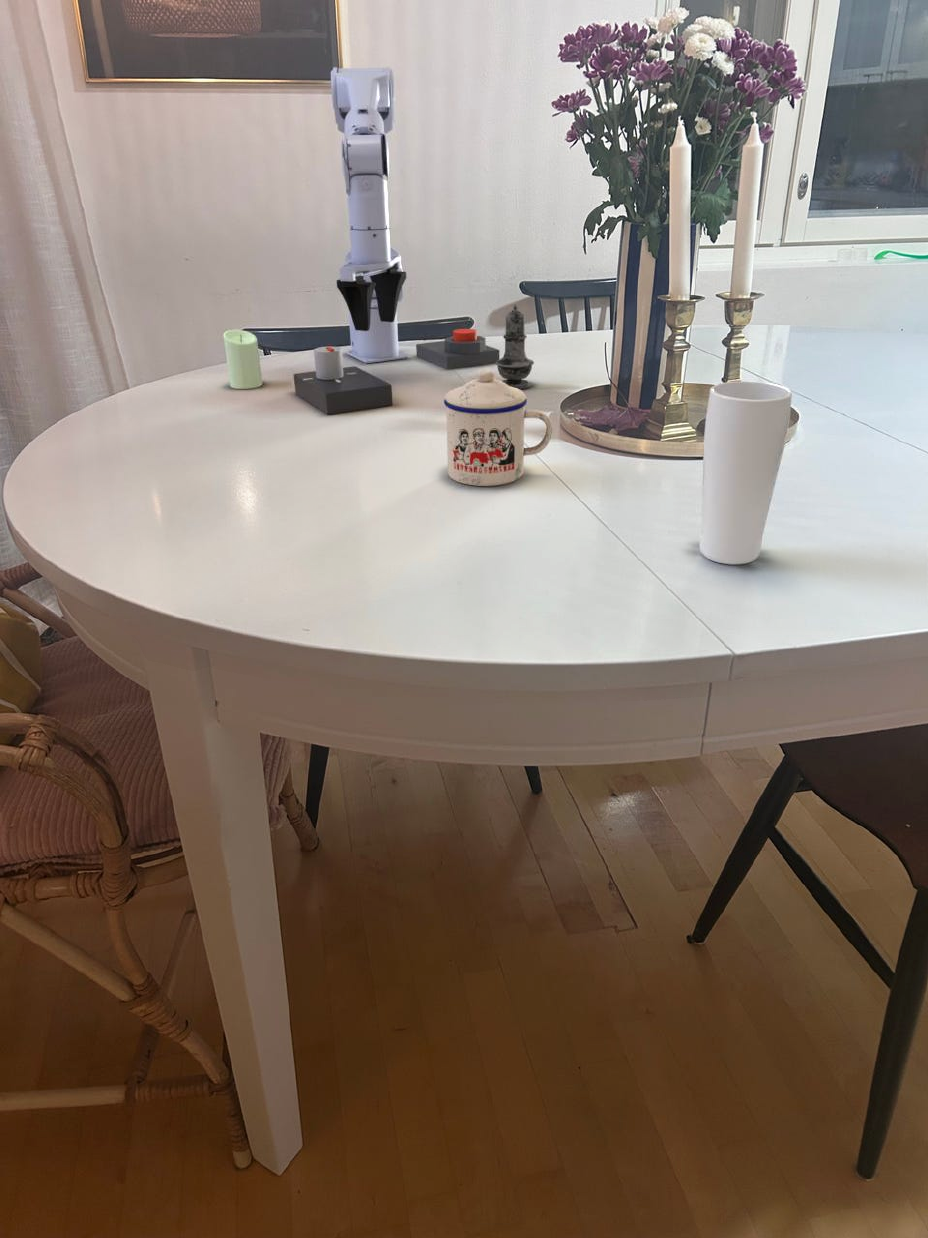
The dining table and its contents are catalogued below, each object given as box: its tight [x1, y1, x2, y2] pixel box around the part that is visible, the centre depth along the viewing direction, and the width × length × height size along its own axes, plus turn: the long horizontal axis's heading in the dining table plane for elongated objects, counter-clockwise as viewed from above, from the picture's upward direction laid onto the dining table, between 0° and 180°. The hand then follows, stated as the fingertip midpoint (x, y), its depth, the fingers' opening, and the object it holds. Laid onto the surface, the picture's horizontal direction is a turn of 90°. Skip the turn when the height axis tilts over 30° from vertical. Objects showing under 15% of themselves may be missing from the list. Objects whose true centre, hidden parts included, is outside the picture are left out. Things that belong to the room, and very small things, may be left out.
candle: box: [222, 329, 263, 390], centre depth 140 cm, size 5×5×8 cm
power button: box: [452, 328, 478, 342], centre depth 152 cm, size 4×4×2 cm
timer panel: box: [293, 365, 394, 416], centre depth 133 cm, size 14×10×3 cm
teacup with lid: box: [443, 369, 554, 487], centre depth 100 cm, size 12×9×12 cm
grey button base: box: [415, 335, 500, 370], centre depth 156 cm, size 12×10×4 cm
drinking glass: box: [699, 380, 793, 565], centre depth 79 cm, size 7×7×15 cm
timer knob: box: [313, 346, 344, 380], centre depth 133 cm, size 4×4×4 cm
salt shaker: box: [495, 304, 535, 391], centre depth 137 cm, size 6×6×12 cm
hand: (375, 325), depth 137 cm, fingers open, 7 cm apart
